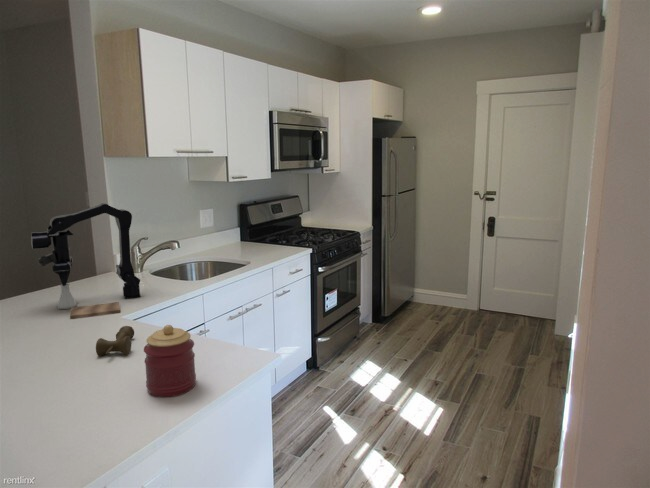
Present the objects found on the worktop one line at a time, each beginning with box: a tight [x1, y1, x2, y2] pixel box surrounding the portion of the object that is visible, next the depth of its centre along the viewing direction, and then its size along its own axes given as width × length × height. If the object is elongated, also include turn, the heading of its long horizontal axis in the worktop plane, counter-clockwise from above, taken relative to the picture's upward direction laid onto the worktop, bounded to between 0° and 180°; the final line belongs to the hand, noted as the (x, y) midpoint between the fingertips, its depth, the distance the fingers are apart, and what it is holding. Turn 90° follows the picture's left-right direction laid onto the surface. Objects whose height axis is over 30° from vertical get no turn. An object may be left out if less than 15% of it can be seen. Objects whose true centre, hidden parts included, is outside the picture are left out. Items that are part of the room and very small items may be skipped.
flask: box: [56, 283, 78, 310], centre depth 196 cm, size 7×7×10 cm
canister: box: [143, 324, 197, 398], centre depth 126 cm, size 13×13×18 cm
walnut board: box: [69, 301, 121, 320], centre depth 191 cm, size 18×12×1 cm, turn 116°
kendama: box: [95, 325, 135, 357], centre depth 152 cm, size 6×10×20 cm
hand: (65, 283), depth 195 cm, fingers open, 9 cm apart
